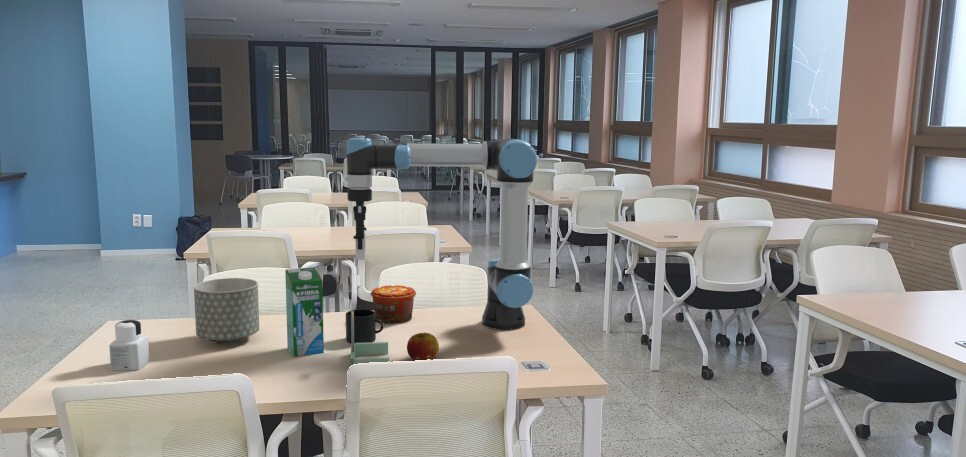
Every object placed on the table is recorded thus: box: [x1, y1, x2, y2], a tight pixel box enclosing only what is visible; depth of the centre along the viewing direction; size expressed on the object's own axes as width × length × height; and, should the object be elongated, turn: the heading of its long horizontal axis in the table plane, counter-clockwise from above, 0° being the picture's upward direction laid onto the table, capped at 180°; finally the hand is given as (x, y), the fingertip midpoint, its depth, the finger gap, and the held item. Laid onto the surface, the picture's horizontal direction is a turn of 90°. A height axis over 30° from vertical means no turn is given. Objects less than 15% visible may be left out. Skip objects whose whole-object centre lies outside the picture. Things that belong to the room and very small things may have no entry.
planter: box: [193, 277, 260, 345], centre depth 225 cm, size 19×19×18 cm
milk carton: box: [284, 266, 325, 357], centre depth 216 cm, size 9×9×25 cm
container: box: [108, 319, 150, 371], centre depth 202 cm, size 8×8×13 cm
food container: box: [370, 284, 417, 325], centre depth 252 cm, size 16×16×11 cm
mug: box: [345, 308, 384, 344], centre depth 228 cm, size 9×12×9 cm
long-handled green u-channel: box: [349, 310, 391, 367], centre depth 207 cm, size 11×15×16 cm
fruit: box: [406, 332, 440, 361], centre depth 210 cm, size 10×9×8 cm
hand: (360, 255), depth 224 cm, fingers open, 13 cm apart
